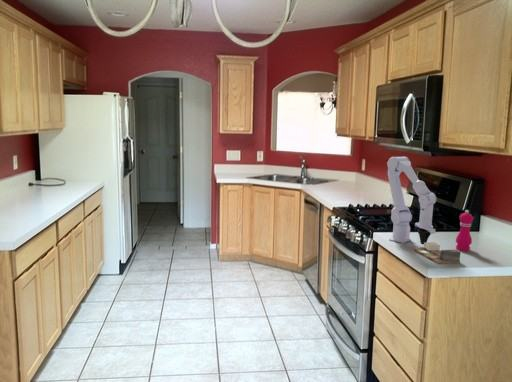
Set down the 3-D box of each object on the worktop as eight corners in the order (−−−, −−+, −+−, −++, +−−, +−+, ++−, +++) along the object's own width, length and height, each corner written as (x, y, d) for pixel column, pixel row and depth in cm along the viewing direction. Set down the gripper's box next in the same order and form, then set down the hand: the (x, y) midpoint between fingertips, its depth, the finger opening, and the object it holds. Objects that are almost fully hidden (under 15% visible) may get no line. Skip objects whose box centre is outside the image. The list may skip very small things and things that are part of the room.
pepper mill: (465, 252, 217) (470, 212, 213) (451, 248, 223) (456, 209, 219) (473, 250, 221) (478, 210, 218) (459, 246, 227) (464, 207, 223)
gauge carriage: (416, 248, 216) (417, 242, 215) (434, 247, 218) (435, 242, 217) (421, 251, 212) (421, 245, 211) (439, 250, 214) (440, 244, 213)
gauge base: (411, 249, 219) (412, 239, 218) (432, 248, 221) (433, 239, 220) (437, 263, 198) (438, 252, 198) (460, 262, 201) (461, 251, 200)
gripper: (442, 220, 213) (439, 247, 216) (424, 213, 227) (422, 239, 230) (428, 220, 212) (426, 248, 214) (412, 214, 226) (409, 240, 228)
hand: (423, 243), depth 222 cm, fingers closed
